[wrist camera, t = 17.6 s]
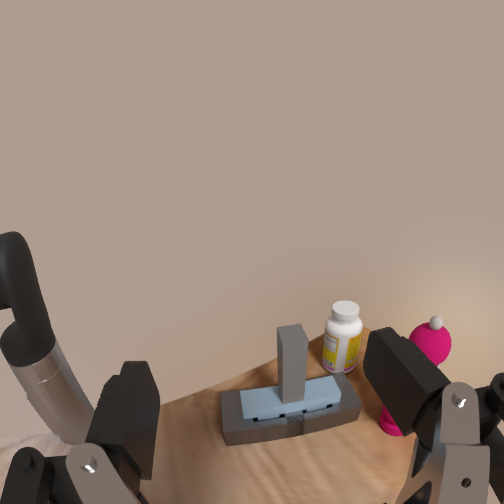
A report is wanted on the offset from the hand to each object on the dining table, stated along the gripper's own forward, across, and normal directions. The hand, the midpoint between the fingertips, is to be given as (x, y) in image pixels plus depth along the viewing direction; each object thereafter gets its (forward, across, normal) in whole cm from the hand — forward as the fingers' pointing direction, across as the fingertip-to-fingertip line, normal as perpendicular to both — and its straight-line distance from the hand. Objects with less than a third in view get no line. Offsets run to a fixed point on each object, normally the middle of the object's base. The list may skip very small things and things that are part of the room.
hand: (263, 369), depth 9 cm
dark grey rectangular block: (+19, -6, +30) cm, 36 cm away
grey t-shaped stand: (+19, -6, +30) cm, 36 cm away
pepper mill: (+12, -22, +30) cm, 39 cm away
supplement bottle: (+29, -18, +30) cm, 46 cm away
